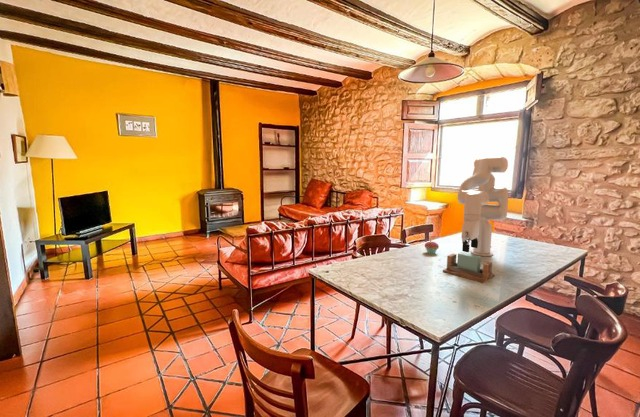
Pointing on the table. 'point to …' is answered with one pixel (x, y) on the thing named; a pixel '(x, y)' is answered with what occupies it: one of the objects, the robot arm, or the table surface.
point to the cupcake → (431, 247)
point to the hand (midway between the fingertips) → (470, 249)
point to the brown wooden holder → (480, 277)
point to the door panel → (469, 262)
